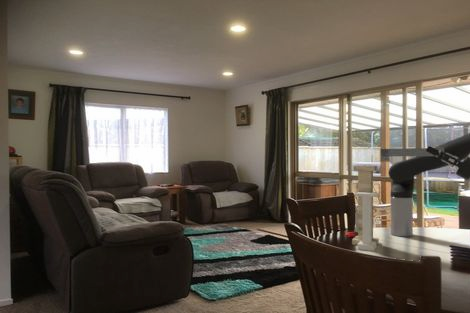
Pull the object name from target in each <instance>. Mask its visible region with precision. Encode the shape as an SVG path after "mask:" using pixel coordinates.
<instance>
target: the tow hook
mask: <svg viewBox="0 0 470 313" xmlns="http://www.w3.org/2000/svg"><path fill="white" fill-rule="evenodd" d="M354 214H355V216H354V218H355V219H354V220H355V222H354V223H355V224H354V231H348V232H347V231H346V232H345V234H344V235H345V236H347V237H348V238H354V237H356V236H358V207H357V208H355V213H354Z"/></svg>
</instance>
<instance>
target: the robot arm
mask: <svg viewBox="0 0 470 313" xmlns="http://www.w3.org/2000/svg"><path fill="white" fill-rule="evenodd" d="M426 148H427V149H426V151H427V152H429V153H431V154H433V155H436V156H413V157H412V158H408V159H405V160H401V161H397V162H394V163H393V164H392V165H391V166H390V167H389V169H388V177H389V178H390V179H391V181H392V186H391V190H390V235H392V236H396V237H404V238H405V237H412V236H414V234H413V231H414V230H413V228H414V227H413V226H414V222H413V221H414V219H413V218H414V217H413V216H414V210H413V209H414V207H413V206H414V205H413V204H414V203H413V201H414V200H413V196H414V195H413V194H414V189H415V188H414V187H415V177H416V176H417V175H420V174H422V173H424V172H428V171H433V170H437V169H441V168H444V167H447V166H450V167H454V166H455V167H457V168H458V169H457V170H456V172H455V175H457V176H458V177H460V178H463V179H464V180H466V181H469V182H470V156H469V155H470V132H469V133H466V134H463V135H462V136H460V137H458V138H455V139H453V140H449V141H447V142H444V143H442V144H439V145H438V146H435V147H432V146H430V145H429V146H427V147H426ZM435 148H444V153H443V152H441V151H439V150H437V149H435ZM443 154H444V156H442V155H443Z"/></svg>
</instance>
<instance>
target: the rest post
mask: <svg viewBox="0 0 470 313" xmlns="http://www.w3.org/2000/svg"><path fill="white" fill-rule="evenodd" d="M358 196H362V241H360V242H359V243H358V244H357V245H356V246H357V250H360V251H369V252H375V250H376V249H377V246H376V243H375V242H372V197H373V198H378V197H379V196H380V192H373V193H367V192H358V191H357V192H354V197H358Z"/></svg>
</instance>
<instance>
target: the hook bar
mask: <svg viewBox="0 0 470 313" xmlns="http://www.w3.org/2000/svg"><path fill="white" fill-rule="evenodd" d="M427 148H428V147H423V148H422V147H421V148H417V147H416V148H413V147H412V148H380V152H379V154H380V162H384V163H385V162H388V163H389V162H390V160H391V157H417V156H436V155H433V154H431V153H429V152H427V151H426V149H427ZM434 148H435V147H434ZM435 149H437V150H439V151H441V152H443V153H444V148H435ZM442 156H444V154H443V155H442Z"/></svg>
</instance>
